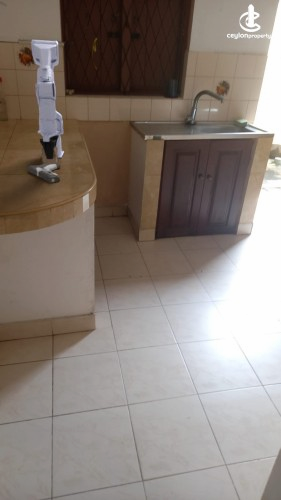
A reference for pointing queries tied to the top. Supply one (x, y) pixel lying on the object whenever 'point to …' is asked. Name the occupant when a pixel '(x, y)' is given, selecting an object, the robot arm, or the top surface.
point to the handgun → (45, 171)
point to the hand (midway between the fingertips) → (51, 156)
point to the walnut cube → (54, 160)
